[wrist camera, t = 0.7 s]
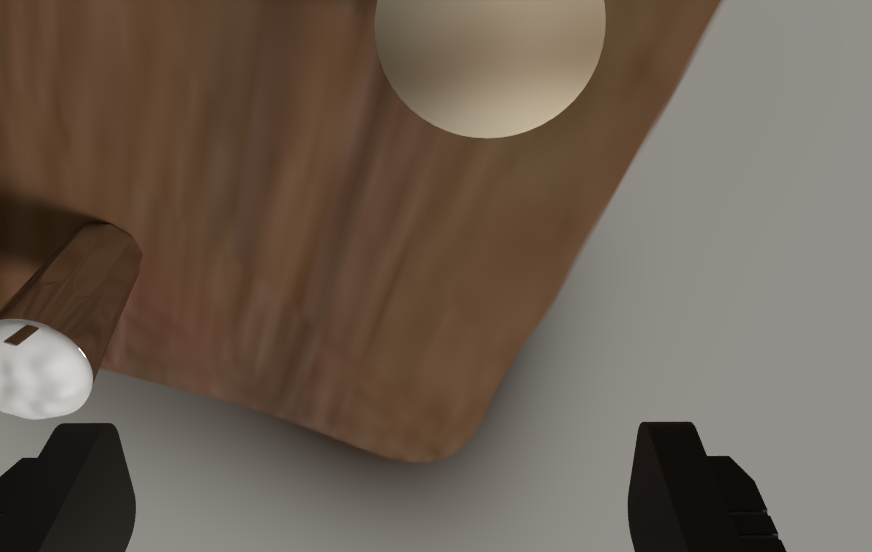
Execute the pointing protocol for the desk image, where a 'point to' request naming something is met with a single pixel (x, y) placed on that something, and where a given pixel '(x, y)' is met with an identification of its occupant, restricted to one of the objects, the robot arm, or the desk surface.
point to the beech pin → (489, 59)
